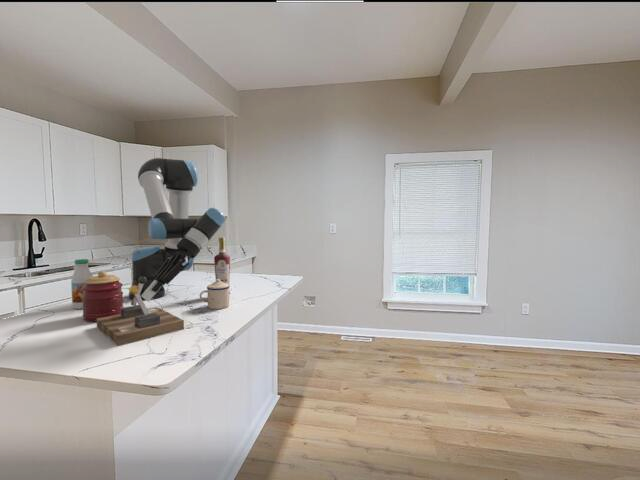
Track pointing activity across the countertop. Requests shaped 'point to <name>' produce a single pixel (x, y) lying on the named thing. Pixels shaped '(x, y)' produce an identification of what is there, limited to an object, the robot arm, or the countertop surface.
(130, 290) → the front lever
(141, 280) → the rear lever
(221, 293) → the teacup with lid
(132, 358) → the countertop surface
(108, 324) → the brown wooden base
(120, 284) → the canister
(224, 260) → the liquor
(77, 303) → the milk bottle
